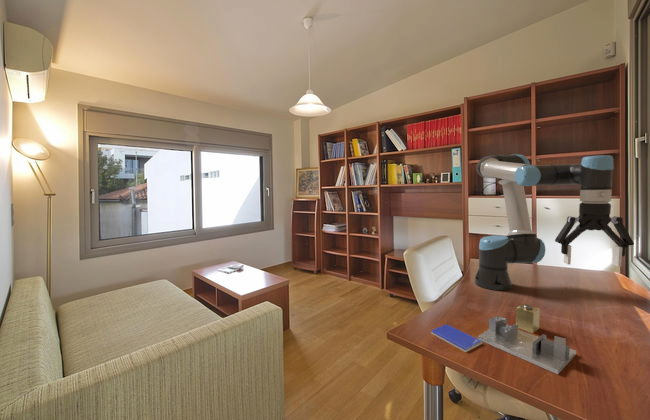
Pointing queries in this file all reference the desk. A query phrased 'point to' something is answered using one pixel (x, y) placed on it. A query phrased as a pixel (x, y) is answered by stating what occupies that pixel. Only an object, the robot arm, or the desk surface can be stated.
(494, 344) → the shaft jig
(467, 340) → the hard drive
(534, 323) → the block
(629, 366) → the desk surface
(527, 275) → the desk surface
